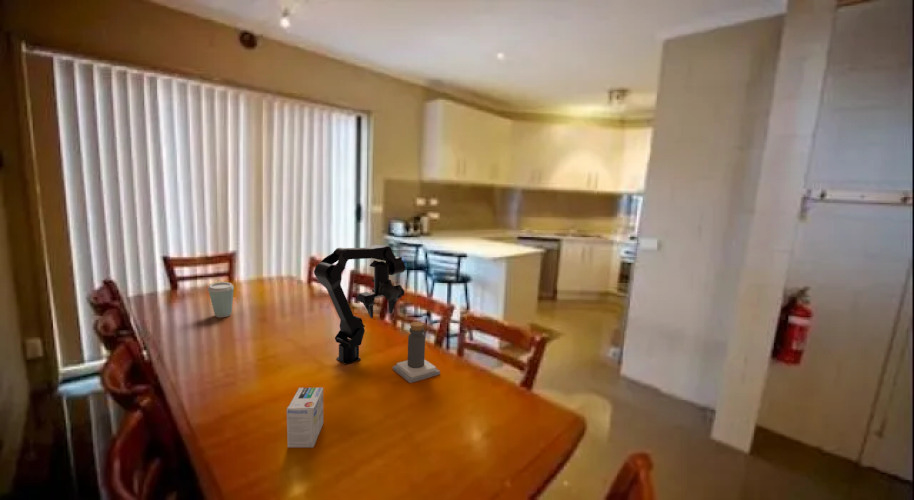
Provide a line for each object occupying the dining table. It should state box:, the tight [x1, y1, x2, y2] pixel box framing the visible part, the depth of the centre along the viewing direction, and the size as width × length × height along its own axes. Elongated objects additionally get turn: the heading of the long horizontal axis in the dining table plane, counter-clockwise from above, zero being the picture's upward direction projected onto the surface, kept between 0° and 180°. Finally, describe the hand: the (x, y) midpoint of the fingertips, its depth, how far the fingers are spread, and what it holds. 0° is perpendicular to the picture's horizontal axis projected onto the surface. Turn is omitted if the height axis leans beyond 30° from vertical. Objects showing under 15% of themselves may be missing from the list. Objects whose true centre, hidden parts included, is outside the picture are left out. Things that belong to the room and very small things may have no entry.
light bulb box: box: [286, 387, 324, 448], centre depth 108 cm, size 11×7×11 cm, turn 5°
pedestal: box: [392, 358, 441, 384], centre depth 147 cm, size 12×12×2 cm
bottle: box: [407, 321, 426, 368], centre depth 146 cm, size 6×6×15 cm
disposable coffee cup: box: [207, 281, 235, 318], centre depth 193 cm, size 11×11×15 cm
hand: (381, 315), depth 165 cm, fingers open, 9 cm apart
